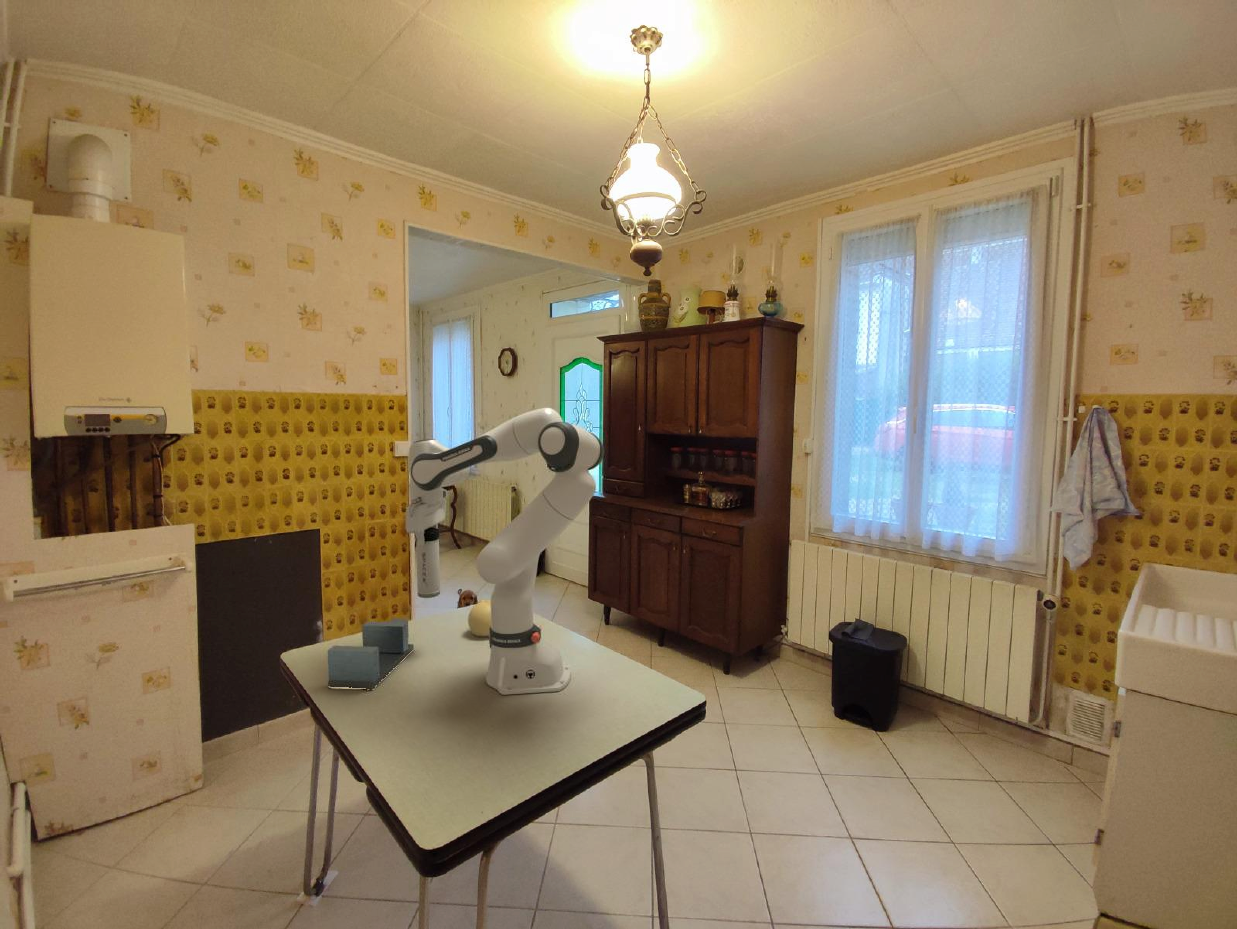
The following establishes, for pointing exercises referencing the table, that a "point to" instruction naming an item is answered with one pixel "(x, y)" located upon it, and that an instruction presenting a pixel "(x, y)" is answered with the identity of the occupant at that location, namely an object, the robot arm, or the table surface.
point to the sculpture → (480, 618)
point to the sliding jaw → (386, 635)
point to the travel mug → (428, 565)
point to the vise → (361, 665)
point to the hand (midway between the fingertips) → (427, 542)
